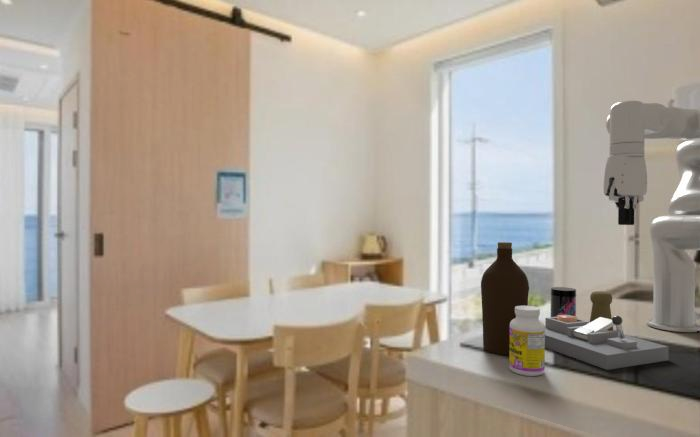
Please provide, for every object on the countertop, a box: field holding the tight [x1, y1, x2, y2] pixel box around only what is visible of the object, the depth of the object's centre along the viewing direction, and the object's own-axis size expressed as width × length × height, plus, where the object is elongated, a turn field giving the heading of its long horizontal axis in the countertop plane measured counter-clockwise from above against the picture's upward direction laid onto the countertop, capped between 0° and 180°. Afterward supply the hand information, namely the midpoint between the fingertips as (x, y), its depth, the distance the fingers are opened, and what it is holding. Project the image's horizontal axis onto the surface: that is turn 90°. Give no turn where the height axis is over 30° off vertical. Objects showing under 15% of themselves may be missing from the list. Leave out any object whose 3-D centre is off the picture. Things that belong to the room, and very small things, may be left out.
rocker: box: [573, 317, 615, 340], centre depth 107 cm, size 9×4×1 cm, turn 111°
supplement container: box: [550, 286, 577, 317], centre depth 133 cm, size 7×7×10 cm
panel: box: [544, 316, 670, 371], centre depth 108 cm, size 18×24×6 cm
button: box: [557, 315, 578, 323], centre depth 115 cm, size 4×4×3 cm
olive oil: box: [480, 241, 530, 356], centre depth 108 cm, size 11×11×25 cm
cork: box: [589, 290, 614, 331], centre depth 124 cm, size 6×6×11 cm
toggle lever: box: [612, 315, 625, 339], centre depth 101 cm, size 2×2×5 cm
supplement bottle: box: [508, 305, 546, 377], centre depth 93 cm, size 7×7×13 cm
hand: (626, 224), depth 116 cm, fingers closed
